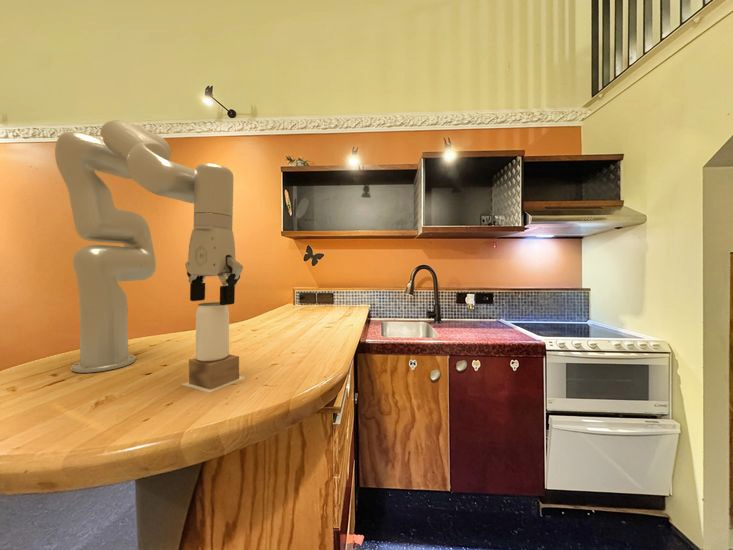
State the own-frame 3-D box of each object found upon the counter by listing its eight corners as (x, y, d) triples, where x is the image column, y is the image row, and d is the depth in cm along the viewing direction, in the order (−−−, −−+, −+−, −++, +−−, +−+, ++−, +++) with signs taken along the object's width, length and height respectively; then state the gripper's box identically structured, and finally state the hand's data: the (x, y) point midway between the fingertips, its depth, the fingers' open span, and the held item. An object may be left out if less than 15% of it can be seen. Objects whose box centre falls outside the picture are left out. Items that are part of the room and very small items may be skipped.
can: (214, 363, 61) (214, 305, 61) (188, 361, 63) (188, 304, 63) (235, 354, 68) (235, 302, 67) (211, 352, 69) (211, 301, 69)
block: (189, 383, 64) (188, 360, 63) (218, 373, 70) (218, 352, 70) (210, 389, 60) (210, 365, 60) (239, 378, 67) (239, 356, 67)
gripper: (171, 222, 65) (170, 300, 65) (225, 220, 57) (223, 308, 58) (203, 227, 72) (202, 297, 72) (255, 225, 64) (253, 304, 65)
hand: (211, 302), depth 65 cm, fingers open, 9 cm apart
